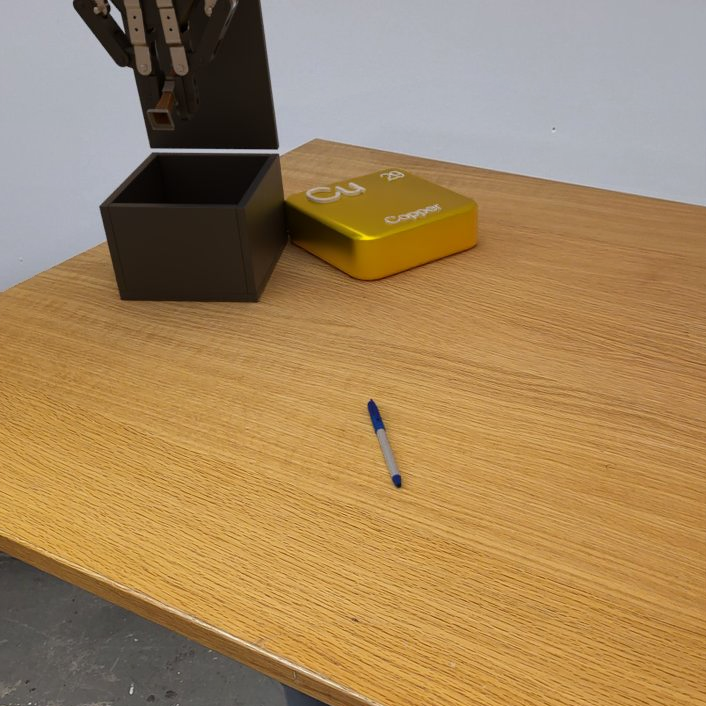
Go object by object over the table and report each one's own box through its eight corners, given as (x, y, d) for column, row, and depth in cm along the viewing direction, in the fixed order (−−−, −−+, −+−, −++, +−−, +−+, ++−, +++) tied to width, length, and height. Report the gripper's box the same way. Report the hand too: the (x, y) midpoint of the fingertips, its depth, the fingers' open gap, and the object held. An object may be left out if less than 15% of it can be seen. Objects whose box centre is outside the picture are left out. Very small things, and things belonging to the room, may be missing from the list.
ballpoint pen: (363, 408, 70) (362, 396, 69) (375, 406, 70) (374, 394, 69) (395, 490, 62) (394, 478, 61) (408, 488, 62) (407, 476, 61)
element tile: (364, 285, 87) (361, 236, 84) (281, 237, 96) (275, 192, 93) (486, 244, 94) (487, 198, 91) (398, 203, 104) (396, 160, 101)
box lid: (255, -25, 80) (267, -39, 84) (112, -25, 81) (130, -38, 85) (278, 150, 90) (288, 130, 94) (150, 148, 91) (165, 129, 95)
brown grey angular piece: (203, 91, 84) (189, 47, 80) (182, 154, 80) (166, 110, 76) (184, 91, 84) (169, 46, 80) (162, 153, 80) (145, 109, 76)
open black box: (257, 302, 84) (244, 208, 79) (120, 300, 85) (98, 206, 79) (289, 238, 96) (279, 153, 91) (168, 237, 96) (152, 152, 91)
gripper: (237, -122, 73) (264, 107, 83) (65, -121, 73) (113, 105, 84) (212, -114, 67) (244, 132, 77) (25, -113, 67) (81, 130, 77)
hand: (175, 117), depth 80 cm, fingers closed on brown grey angular piece, 1 cm apart
